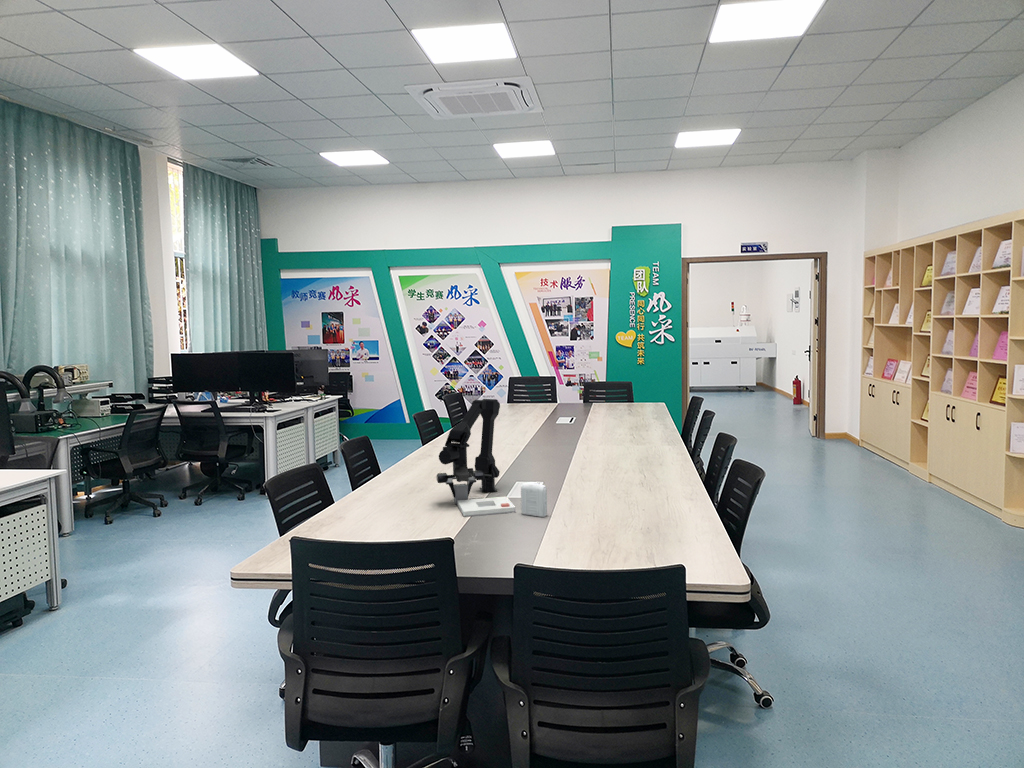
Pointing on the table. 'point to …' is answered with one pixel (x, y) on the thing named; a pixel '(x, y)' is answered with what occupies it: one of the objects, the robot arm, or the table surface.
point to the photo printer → (534, 499)
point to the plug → (460, 492)
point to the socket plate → (486, 506)
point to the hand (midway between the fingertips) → (461, 497)
